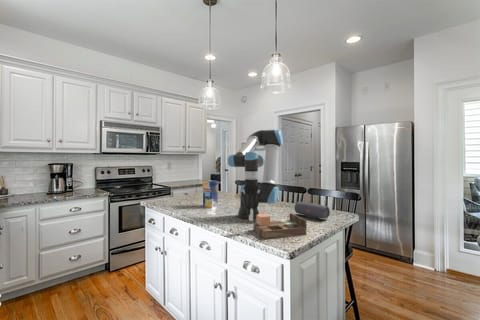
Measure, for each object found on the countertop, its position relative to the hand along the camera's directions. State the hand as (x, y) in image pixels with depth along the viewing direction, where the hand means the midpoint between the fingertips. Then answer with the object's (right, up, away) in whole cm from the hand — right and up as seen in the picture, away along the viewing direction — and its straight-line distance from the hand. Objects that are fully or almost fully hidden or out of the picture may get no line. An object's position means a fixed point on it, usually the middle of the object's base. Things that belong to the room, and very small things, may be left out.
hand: (250, 220), depth 134 cm
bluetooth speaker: (+44, -7, +33) cm, 56 cm away
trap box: (+16, -7, +1) cm, 17 cm away
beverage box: (-31, -6, +67) cm, 74 cm away
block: (+7, -3, +2) cm, 8 cm away
